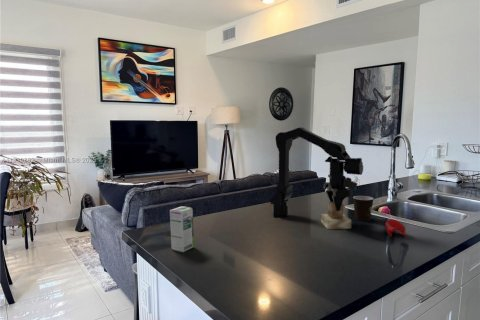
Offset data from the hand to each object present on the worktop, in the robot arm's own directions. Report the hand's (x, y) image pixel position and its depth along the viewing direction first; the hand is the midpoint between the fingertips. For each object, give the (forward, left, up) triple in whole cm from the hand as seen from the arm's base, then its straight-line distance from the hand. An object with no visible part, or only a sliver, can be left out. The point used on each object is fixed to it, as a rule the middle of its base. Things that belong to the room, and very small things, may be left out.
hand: (335, 209), depth 140 cm
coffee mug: (+16, +8, -7) cm, 19 cm away
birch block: (0, 0, -8) cm, 8 cm away
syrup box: (-62, -24, -7) cm, 67 cm away
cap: (+19, -14, -7) cm, 25 cm away
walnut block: (0, 0, -3) cm, 3 cm away
